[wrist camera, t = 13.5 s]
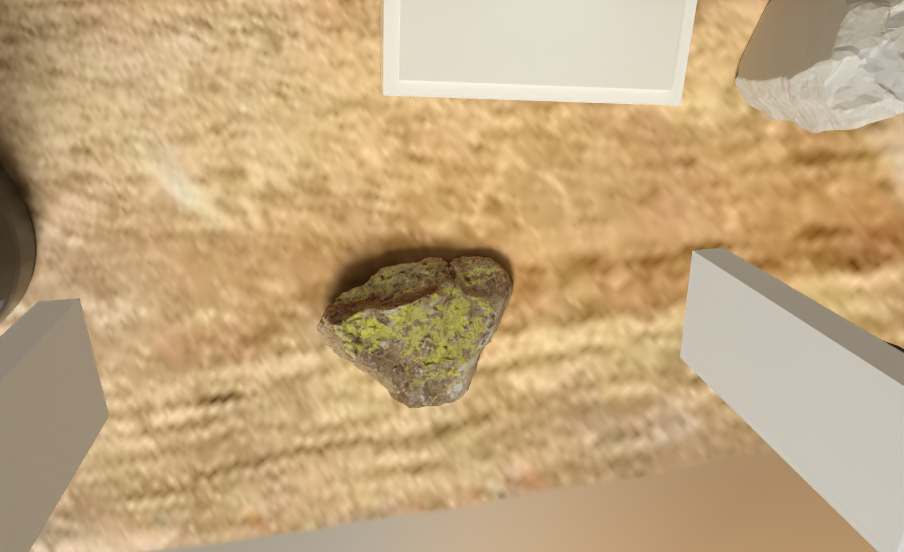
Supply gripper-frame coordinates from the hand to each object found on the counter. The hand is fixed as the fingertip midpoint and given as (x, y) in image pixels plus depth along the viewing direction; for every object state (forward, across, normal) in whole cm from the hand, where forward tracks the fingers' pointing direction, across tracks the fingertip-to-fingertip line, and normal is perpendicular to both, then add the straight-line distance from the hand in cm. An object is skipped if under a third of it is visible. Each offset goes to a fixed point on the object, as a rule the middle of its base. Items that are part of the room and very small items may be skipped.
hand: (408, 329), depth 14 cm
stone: (+27, +26, +5) cm, 38 cm away
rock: (+28, +3, -13) cm, 31 cm away
